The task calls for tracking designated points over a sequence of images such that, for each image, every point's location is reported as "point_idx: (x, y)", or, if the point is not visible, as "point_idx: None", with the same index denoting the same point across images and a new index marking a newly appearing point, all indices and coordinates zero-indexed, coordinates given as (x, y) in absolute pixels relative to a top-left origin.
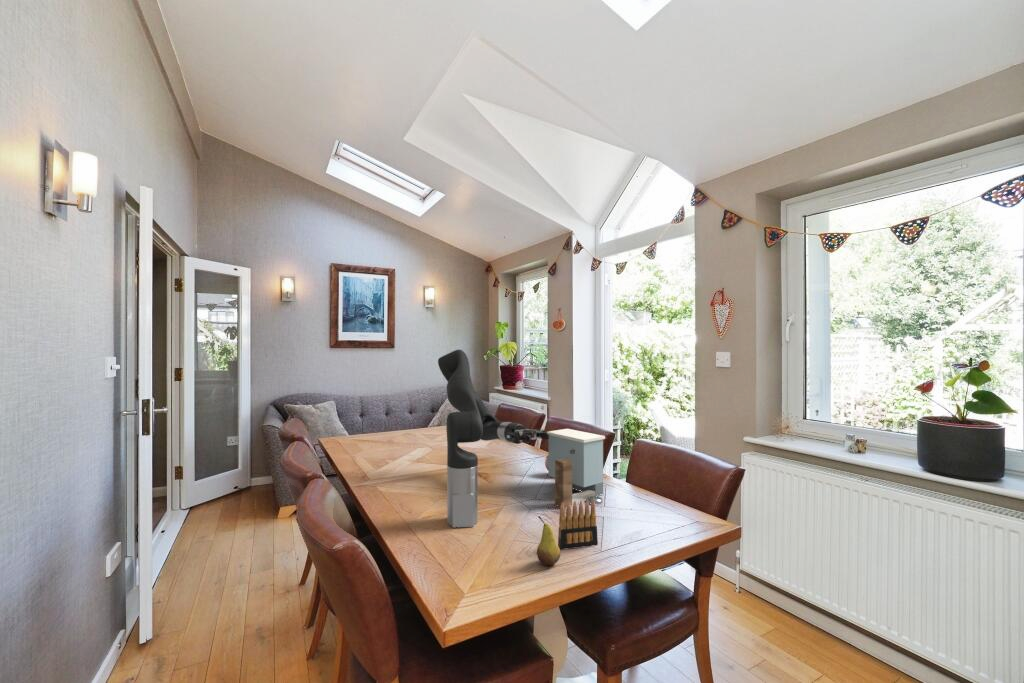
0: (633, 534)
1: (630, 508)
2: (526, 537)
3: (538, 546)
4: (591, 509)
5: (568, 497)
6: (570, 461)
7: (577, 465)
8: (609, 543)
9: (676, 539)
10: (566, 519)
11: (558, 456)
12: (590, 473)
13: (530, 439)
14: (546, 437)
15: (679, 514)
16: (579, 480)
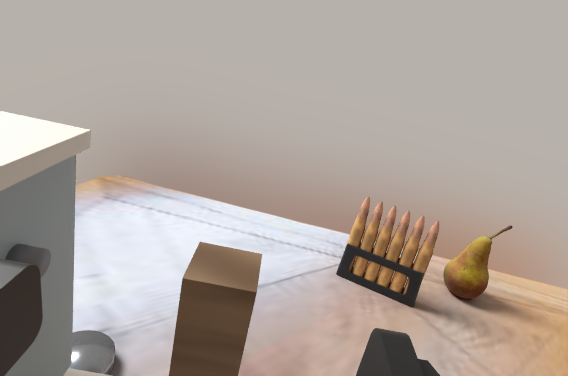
0: (250, 245)
1: (88, 277)
2: (466, 371)
3: (488, 275)
4: (367, 215)
5: None
6: (210, 245)
7: (43, 311)
8: (317, 259)
9: (217, 210)
10: (417, 249)
11: None
12: None
13: (366, 358)
14: (26, 324)
15: (79, 214)
16: (53, 367)
